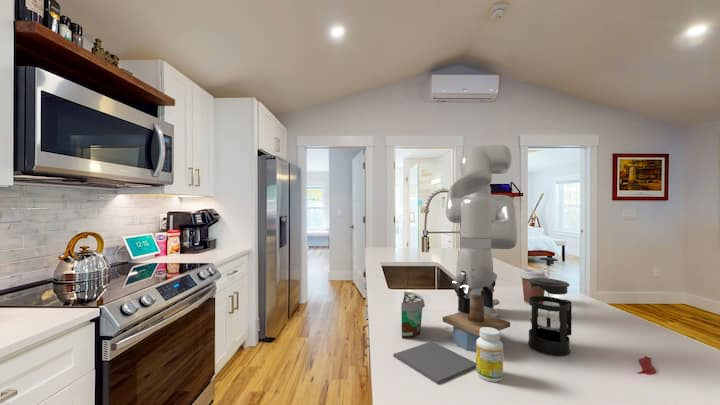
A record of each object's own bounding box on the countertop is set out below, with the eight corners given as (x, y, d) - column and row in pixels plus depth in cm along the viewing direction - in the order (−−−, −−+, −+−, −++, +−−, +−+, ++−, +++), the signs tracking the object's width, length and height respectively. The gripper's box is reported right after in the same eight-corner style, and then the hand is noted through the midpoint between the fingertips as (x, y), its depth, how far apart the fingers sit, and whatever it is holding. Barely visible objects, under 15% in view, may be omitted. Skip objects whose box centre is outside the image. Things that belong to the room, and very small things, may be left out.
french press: (546, 358, 75) (546, 261, 75) (517, 342, 84) (517, 255, 84) (585, 353, 78) (585, 260, 78) (553, 337, 87) (553, 254, 87)
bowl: (471, 331, 91) (471, 314, 91) (507, 345, 82) (507, 326, 82) (445, 340, 85) (445, 321, 85) (480, 356, 76) (480, 335, 76)
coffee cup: (553, 307, 113) (553, 273, 114) (527, 307, 113) (527, 273, 114) (539, 299, 122) (539, 268, 123) (515, 299, 123) (515, 268, 123)
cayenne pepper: (647, 380, 67) (647, 371, 67) (621, 369, 71) (621, 361, 71) (671, 367, 72) (671, 358, 72) (646, 358, 76) (646, 350, 76)
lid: (471, 313, 92) (471, 288, 92) (510, 326, 82) (510, 298, 82) (442, 321, 85) (442, 294, 85) (481, 337, 75) (481, 306, 75)
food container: (424, 342, 83) (424, 304, 83) (401, 340, 84) (401, 303, 85) (424, 325, 95) (424, 292, 95) (404, 323, 97) (404, 291, 97)
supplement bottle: (498, 385, 63) (498, 337, 64) (472, 376, 67) (472, 330, 67) (506, 374, 68) (506, 330, 68) (481, 366, 71) (481, 323, 71)
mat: (431, 343, 83) (431, 341, 83) (478, 366, 71) (478, 363, 71) (393, 356, 75) (393, 353, 75) (437, 384, 64) (437, 381, 64)
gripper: (483, 241, 91) (483, 300, 91) (442, 244, 82) (442, 311, 81) (508, 243, 85) (508, 307, 85) (466, 247, 76) (466, 319, 75)
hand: (475, 309), depth 83 cm, fingers open, 9 cm apart
